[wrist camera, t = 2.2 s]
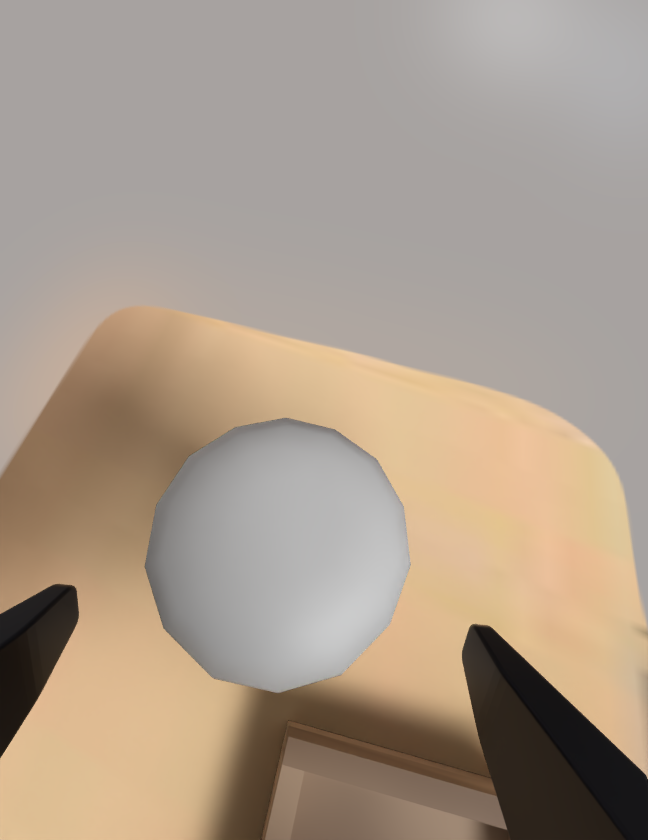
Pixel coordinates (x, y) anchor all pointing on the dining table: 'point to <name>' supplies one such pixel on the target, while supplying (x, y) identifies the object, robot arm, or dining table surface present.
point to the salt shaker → (278, 554)
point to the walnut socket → (374, 794)
